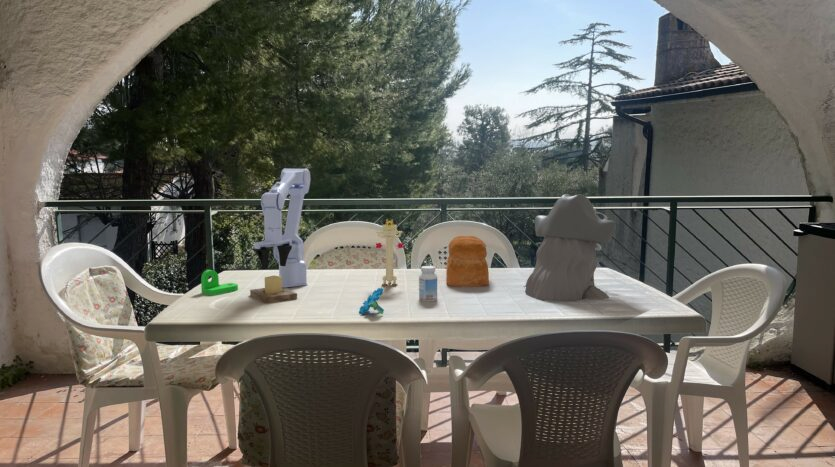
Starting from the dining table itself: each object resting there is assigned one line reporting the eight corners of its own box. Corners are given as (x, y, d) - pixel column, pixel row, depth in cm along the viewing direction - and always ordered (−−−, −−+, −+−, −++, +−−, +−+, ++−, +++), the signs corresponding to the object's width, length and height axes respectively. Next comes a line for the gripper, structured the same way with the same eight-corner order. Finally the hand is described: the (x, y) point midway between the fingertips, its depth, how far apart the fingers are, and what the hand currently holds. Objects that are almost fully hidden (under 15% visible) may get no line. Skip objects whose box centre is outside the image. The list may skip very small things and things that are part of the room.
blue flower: (356, 306, 184) (378, 282, 185) (370, 318, 186) (392, 295, 186) (358, 315, 174) (381, 290, 174) (373, 328, 175) (396, 303, 175)
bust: (632, 294, 209) (637, 194, 205) (587, 312, 184) (592, 198, 180) (546, 281, 231) (549, 190, 227) (496, 295, 206) (499, 194, 202)
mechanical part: (211, 296, 203) (211, 273, 202) (201, 293, 206) (200, 270, 205) (241, 290, 212) (240, 268, 211) (231, 288, 216) (230, 266, 215)
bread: (446, 288, 216) (446, 241, 214) (446, 275, 242) (446, 233, 240) (489, 289, 216) (490, 242, 214) (484, 275, 242) (485, 233, 240)
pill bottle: (439, 299, 199) (439, 266, 198) (434, 303, 194) (434, 269, 192) (422, 297, 201) (422, 264, 200) (416, 301, 196) (416, 267, 194)
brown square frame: (281, 291, 209) (280, 286, 209) (297, 299, 198) (297, 293, 198) (250, 295, 203) (250, 289, 203) (265, 303, 192) (265, 297, 191)
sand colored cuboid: (274, 295, 203) (273, 275, 202) (282, 297, 201) (282, 276, 200) (265, 297, 200) (264, 277, 199) (273, 299, 198) (272, 278, 197)
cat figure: (375, 287, 217) (375, 219, 214) (376, 282, 225) (376, 217, 222) (403, 287, 217) (403, 219, 214) (403, 282, 226) (403, 217, 223)
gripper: (282, 225, 210) (283, 263, 212) (248, 228, 199) (249, 269, 200) (295, 226, 206) (296, 265, 207) (261, 230, 194) (262, 271, 196)
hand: (274, 267), depth 204 cm, fingers open, 7 cm apart
